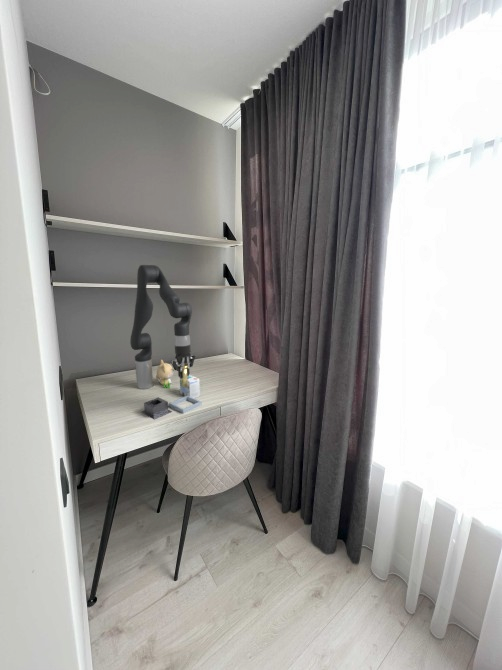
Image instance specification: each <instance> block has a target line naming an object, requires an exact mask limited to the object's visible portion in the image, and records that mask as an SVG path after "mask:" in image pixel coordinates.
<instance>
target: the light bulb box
mask: <svg viewBox="0 0 502 670" xmlns="http://www.w3.org/2000/svg"><path fill="white" fill-rule="evenodd" d="M200 386H201V385H200V378H198V377H196V376H194V375H192V374H189V376H188V387H182V386H181V378H179V387H180V388H179V389H180V395H181V396H183V397H185V396H190V397H192V398H194V399H198V398H199V397H201V392H200V391H201V390H200V389H201V388H200Z"/></svg>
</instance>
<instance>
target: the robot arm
mask: <svg viewBox="0 0 502 670" xmlns="http://www.w3.org/2000/svg"><path fill="white" fill-rule="evenodd" d="M136 276H137V277H136V278H137V279H136V281H137V283H136V299H135V307H134V317H133V323H132V325H133V326H132V330H131V334H130V342H129V343H130V347H131V349H132V350H134V351H138V350H141V351H140V352H139V353H137V354H135V356H134V364H135V376H136V377H135V378H136V379H135V380H136V386H137V389H140V390H146V389H147V390H148V389H151V388H152V387H153V386H154V377H153V376H154V375H153V364H152V363H153V362H152V361H153V360H152V355H153V351H152V348H153V347H152V346H153V345H152V343H153V341H152V337H151V335H150V334H149V333H148V332H143V333H142V331H143V330H144V328H145V327H146V325H147V324H148V323H149V322H150V320H151V318H152V316H153V310H154V303H153V301H152V299H151V298H150V296H149V294H148V291H147V290H148V289H147V284H154V283H156V284H157V285H159V289H158V290H159V291H158V293H159V296H160V298H161V300H162V301H163V302H164V304H165V305H166V306H167V310H168V312H169V315H170V317H172V318H173V319H180V321H177V322H176V323H175V324H174V326H173V327H174V328H173V330H174V331H173V332H174V341H173V342H174V354H175V357H174V359H171V360H170V363H171V364H170V365H171V366H172V368H173V370H174V371H176V372H177V373H178V374H177V376H178V377H179V379H180V378H183V371H182V367H183V366H184V364H185V365H188V368H187V376H189V374H190V373H191V372H190V369H191V368H192V367H193V365H194V363H195V358H196V356H195V355H194V354H191V337H190V324H191V319H192V314H193V308H192V305H191V304H190V303H188V302H180V301H181V300H180V299H181V298H180V297H179V295H178V294H177V293H176V292H175V290H174V289H173V288H172V286H170V284H169V282H168V280H167V278H166V277H165V275H164V273H163V271H162V269H161V268H160V267H159V266H157V265H153V264H140V265H139V267H138V269H137V272H136ZM190 375H191V374H190Z"/></svg>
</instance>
